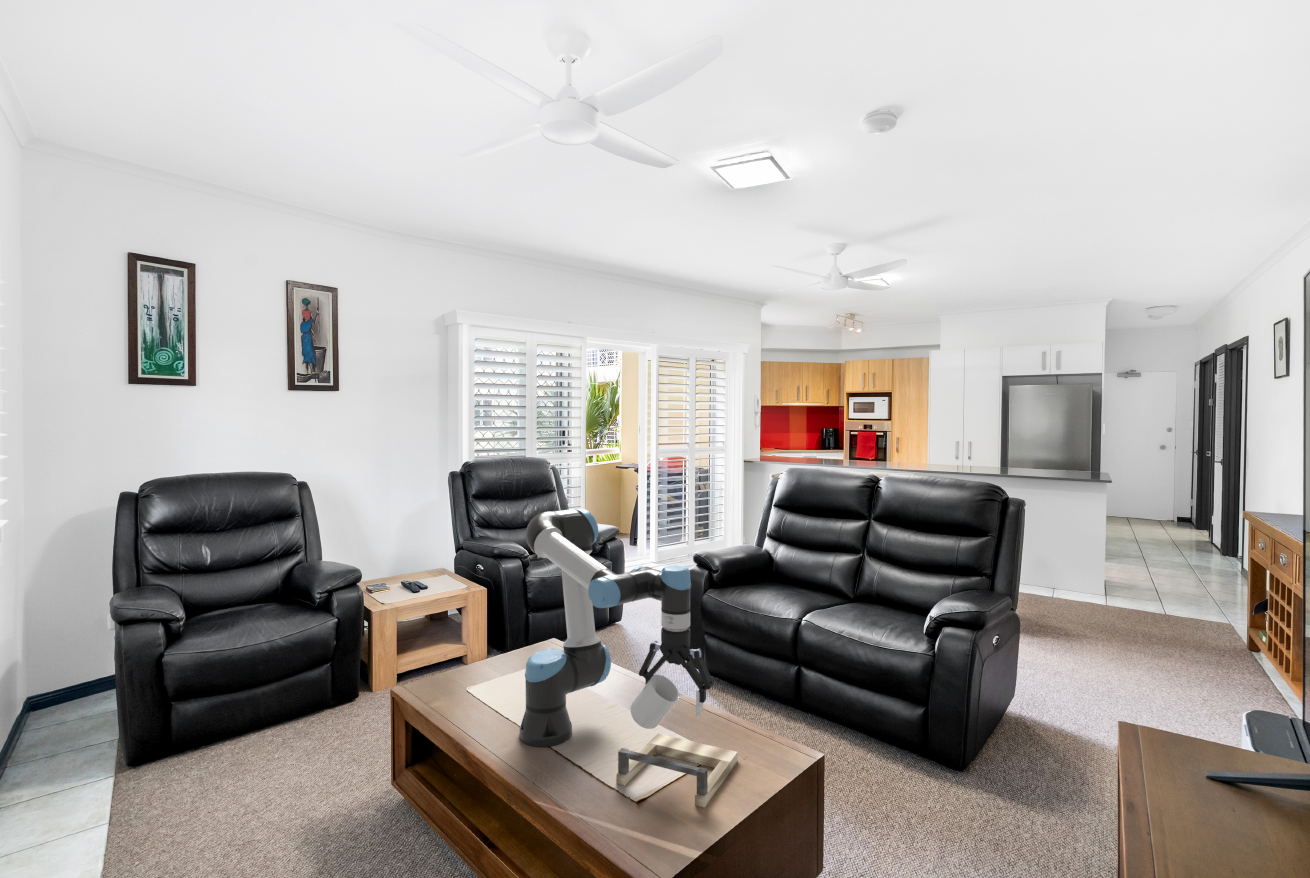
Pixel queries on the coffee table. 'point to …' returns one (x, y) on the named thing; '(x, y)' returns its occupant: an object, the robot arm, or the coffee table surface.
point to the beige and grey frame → (680, 750)
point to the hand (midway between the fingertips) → (675, 708)
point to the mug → (654, 702)
